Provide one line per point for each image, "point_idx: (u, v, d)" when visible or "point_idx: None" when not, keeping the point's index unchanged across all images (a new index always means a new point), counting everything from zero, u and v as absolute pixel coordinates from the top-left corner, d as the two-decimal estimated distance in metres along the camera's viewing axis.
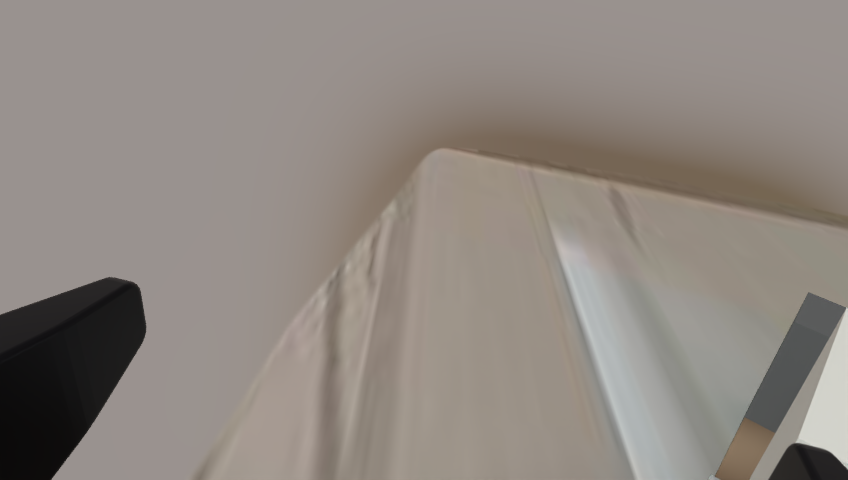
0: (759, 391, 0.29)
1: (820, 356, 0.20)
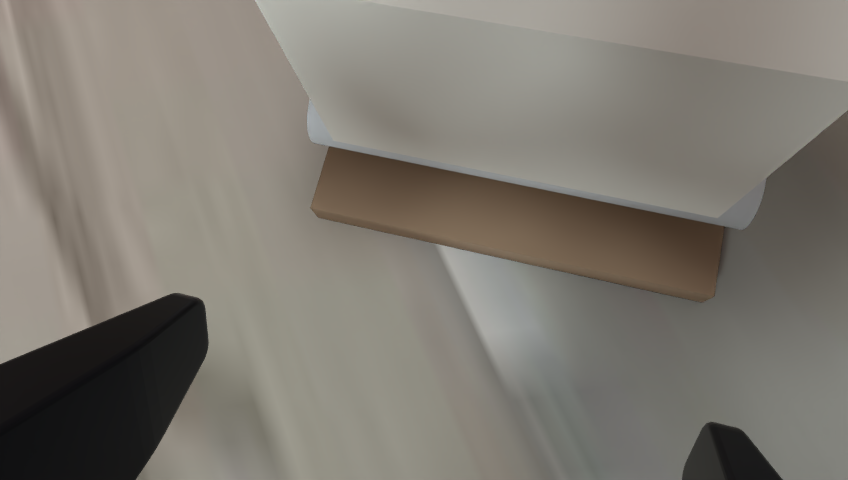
0: None
1: None
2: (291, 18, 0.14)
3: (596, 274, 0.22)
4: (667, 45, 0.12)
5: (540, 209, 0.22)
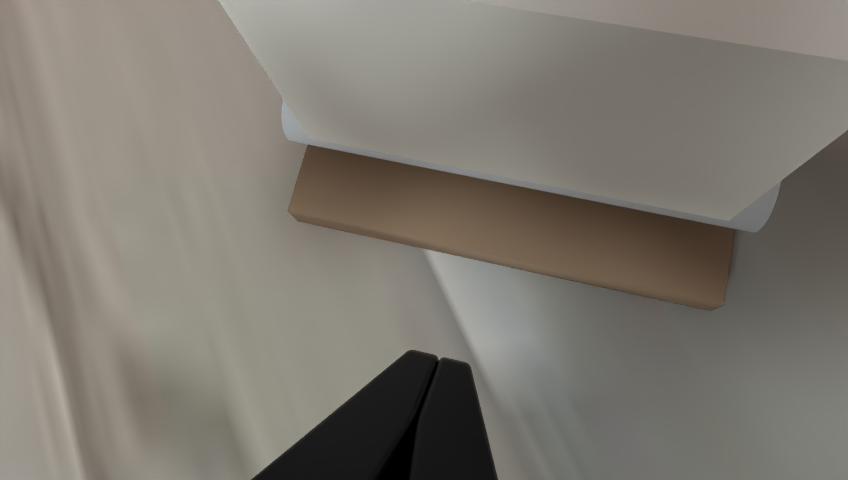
0: None
1: None
2: (248, 0, 0.12)
3: (596, 281, 0.20)
4: (677, 25, 0.10)
5: (535, 211, 0.21)
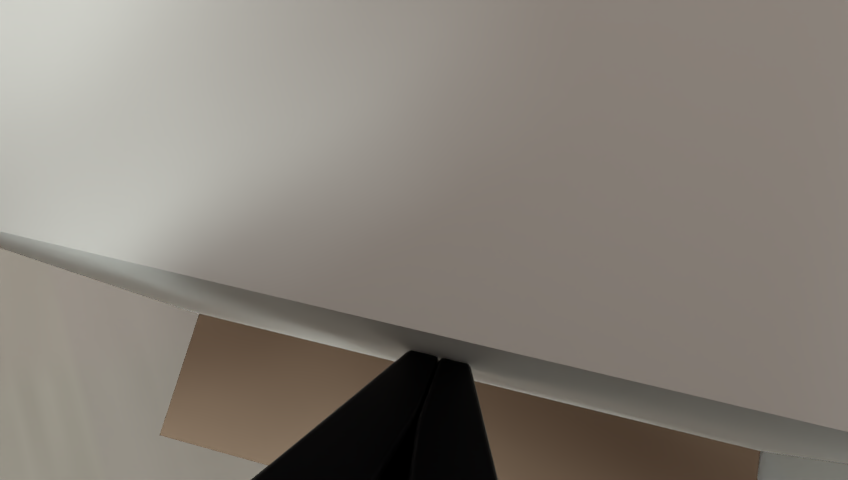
0: None
1: None
2: None
3: None
4: (706, 381, 0.05)
5: None
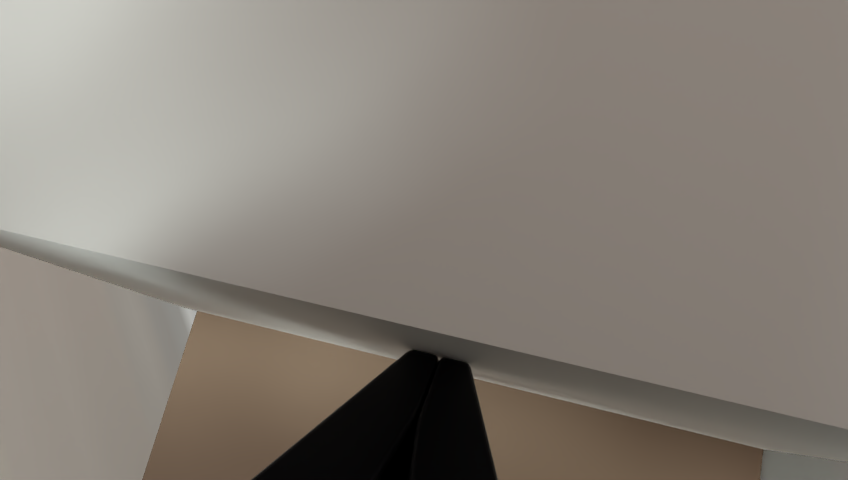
0: None
1: None
2: None
3: None
4: (712, 379, 0.05)
5: None
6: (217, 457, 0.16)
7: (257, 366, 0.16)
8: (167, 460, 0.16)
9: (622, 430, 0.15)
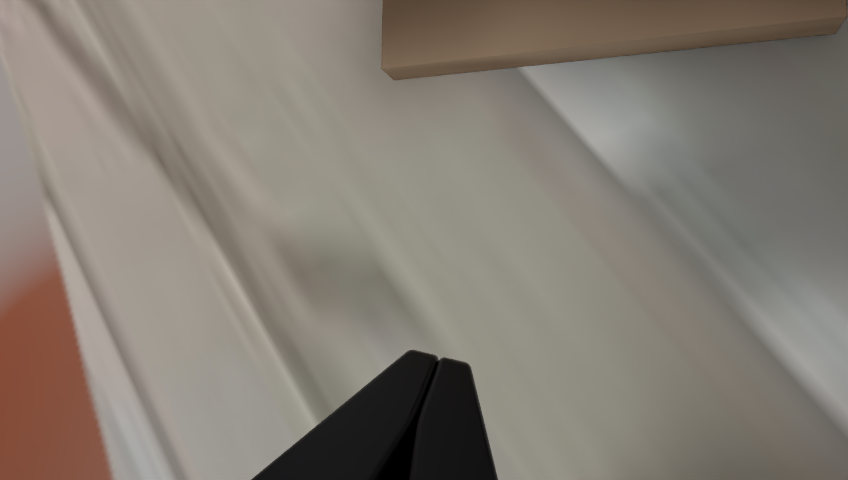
0: None
1: None
2: None
3: (700, 39, 0.20)
4: None
5: None
6: None
7: None
8: None
9: None
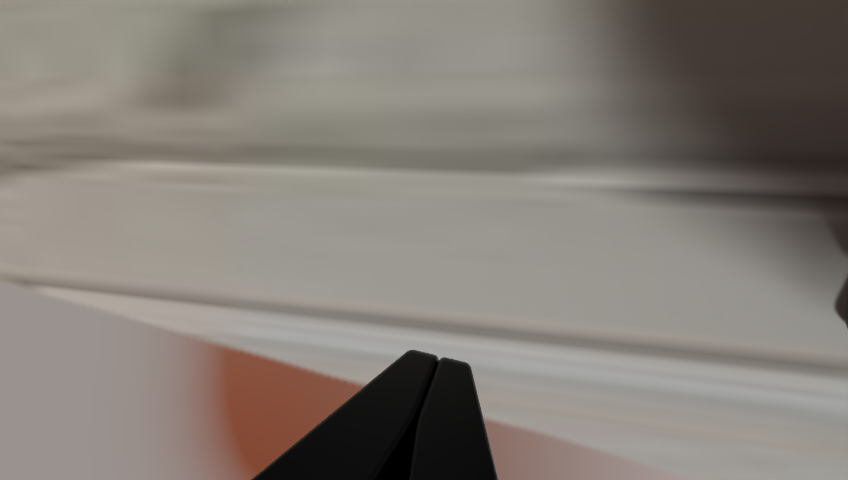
0: None
1: None
2: None
3: None
4: None
5: None
6: None
7: None
8: None
9: None
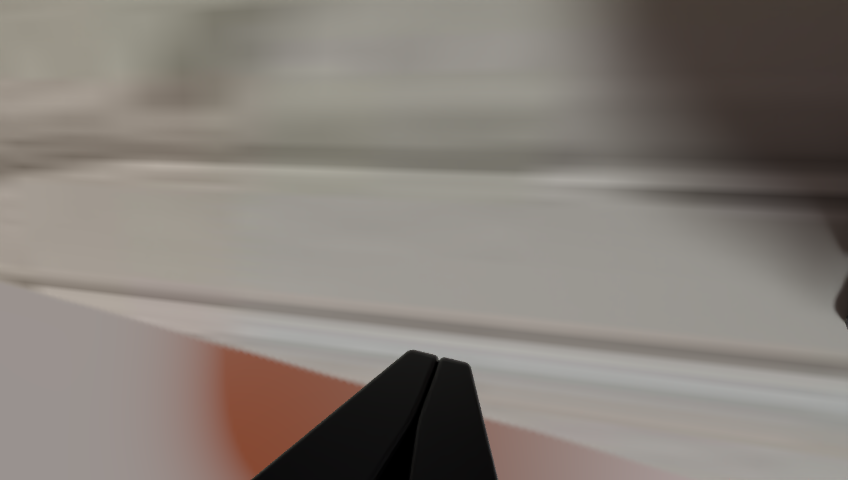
0: None
1: None
2: None
3: None
4: None
5: None
6: None
7: None
8: None
9: None
